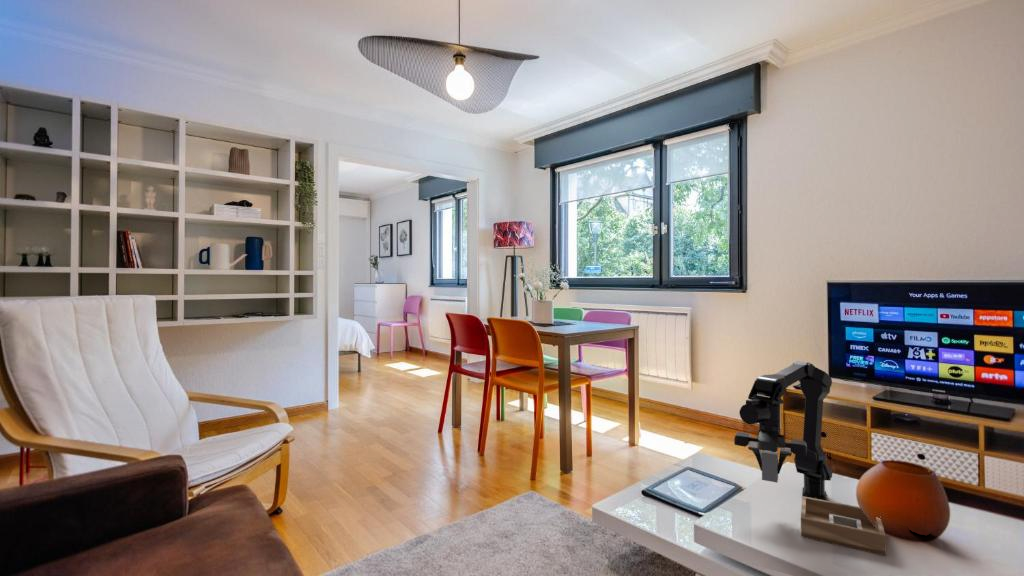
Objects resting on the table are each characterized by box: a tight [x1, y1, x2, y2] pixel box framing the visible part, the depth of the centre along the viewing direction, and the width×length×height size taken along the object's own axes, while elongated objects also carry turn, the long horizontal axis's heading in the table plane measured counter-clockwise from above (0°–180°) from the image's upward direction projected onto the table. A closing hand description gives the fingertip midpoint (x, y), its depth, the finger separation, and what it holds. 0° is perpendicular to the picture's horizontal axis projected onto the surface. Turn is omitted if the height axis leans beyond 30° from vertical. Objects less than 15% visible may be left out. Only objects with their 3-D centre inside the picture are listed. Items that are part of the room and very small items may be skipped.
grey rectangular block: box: [761, 450, 779, 484], centre depth 142 cm, size 4×4×8 cm
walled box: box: [800, 495, 887, 557], centre depth 130 cm, size 16×18×5 cm
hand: (770, 472), depth 142 cm, fingers closed on grey rectangular block, 4 cm apart
